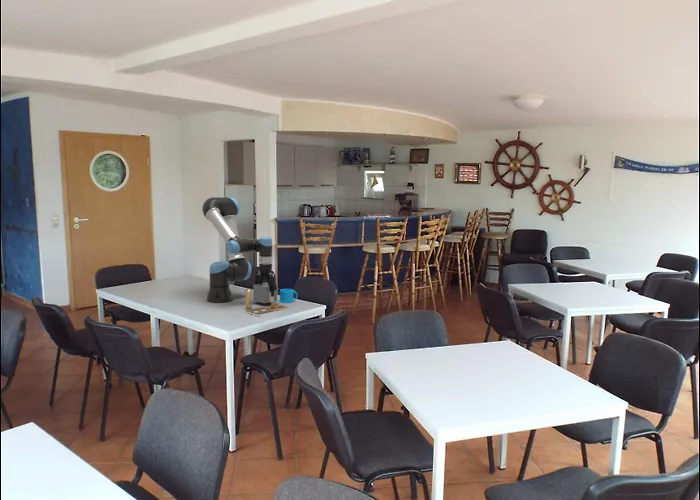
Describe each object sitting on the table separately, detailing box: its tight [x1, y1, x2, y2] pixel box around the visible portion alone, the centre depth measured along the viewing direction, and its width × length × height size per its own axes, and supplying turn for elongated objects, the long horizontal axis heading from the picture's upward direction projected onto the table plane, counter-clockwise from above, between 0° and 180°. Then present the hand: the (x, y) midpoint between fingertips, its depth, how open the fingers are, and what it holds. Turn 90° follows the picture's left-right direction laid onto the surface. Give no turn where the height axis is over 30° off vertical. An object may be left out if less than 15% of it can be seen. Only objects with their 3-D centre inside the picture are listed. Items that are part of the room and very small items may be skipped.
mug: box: [279, 288, 298, 304], centre depth 318 cm, size 12×8×8 cm
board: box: [261, 302, 292, 312], centre depth 301 cm, size 12×12×4 cm
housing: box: [252, 282, 278, 304], centre depth 309 cm, size 10×10×10 cm
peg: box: [245, 288, 253, 310], centre depth 296 cm, size 3×3×12 cm
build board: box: [245, 306, 275, 318], centre depth 292 cm, size 11×11×2 cm
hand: (265, 300), depth 310 cm, fingers closed on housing, 10 cm apart
